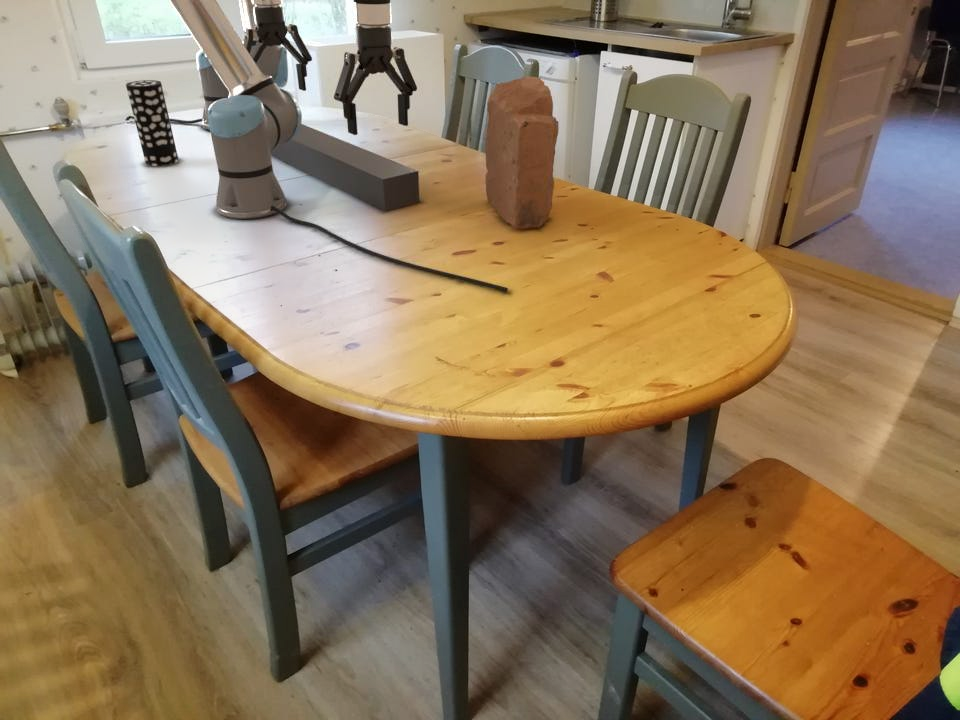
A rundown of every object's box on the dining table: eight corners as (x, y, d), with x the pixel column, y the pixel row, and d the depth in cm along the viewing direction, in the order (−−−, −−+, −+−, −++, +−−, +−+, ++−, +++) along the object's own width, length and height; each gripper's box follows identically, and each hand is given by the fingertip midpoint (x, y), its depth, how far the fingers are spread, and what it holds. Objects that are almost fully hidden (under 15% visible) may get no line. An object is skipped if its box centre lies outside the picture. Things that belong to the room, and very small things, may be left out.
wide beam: (419, 202, 162) (418, 170, 158) (385, 211, 157) (382, 179, 153) (291, 144, 202) (287, 118, 198) (260, 150, 197) (255, 123, 193)
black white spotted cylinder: (184, 157, 190) (167, 80, 179) (169, 166, 183) (151, 87, 172) (155, 156, 190) (136, 79, 179) (139, 165, 183) (119, 86, 172)
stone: (564, 226, 149) (572, 89, 135) (516, 232, 146) (519, 92, 132) (527, 198, 167) (531, 73, 153) (483, 203, 164) (483, 76, 149)
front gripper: (411, 19, 153) (413, 117, 165) (311, 27, 139) (321, 133, 151) (431, 23, 149) (432, 124, 160) (330, 31, 135) (339, 141, 146)
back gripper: (304, 0, 184) (314, 84, 196) (214, 7, 170) (230, 97, 182) (319, 3, 179) (327, 89, 191) (227, 10, 165) (242, 102, 177)
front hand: (378, 129), depth 156 cm, fingers open, 13 cm apart
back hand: (280, 93), depth 186 cm, fingers open, 13 cm apart
